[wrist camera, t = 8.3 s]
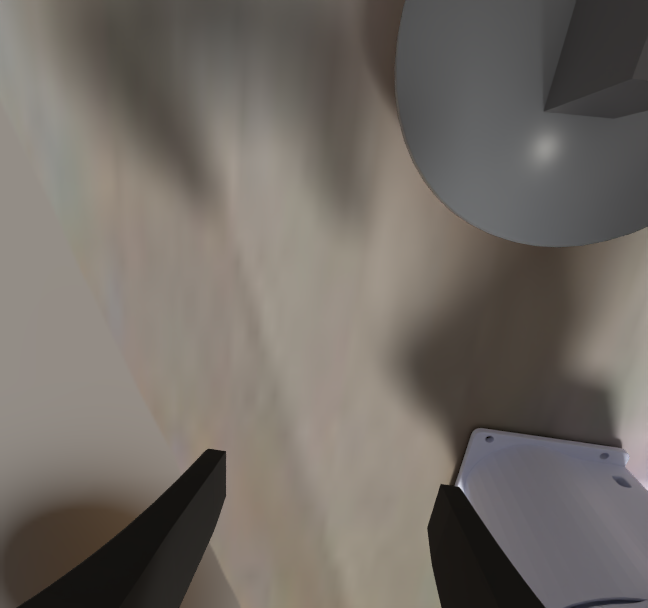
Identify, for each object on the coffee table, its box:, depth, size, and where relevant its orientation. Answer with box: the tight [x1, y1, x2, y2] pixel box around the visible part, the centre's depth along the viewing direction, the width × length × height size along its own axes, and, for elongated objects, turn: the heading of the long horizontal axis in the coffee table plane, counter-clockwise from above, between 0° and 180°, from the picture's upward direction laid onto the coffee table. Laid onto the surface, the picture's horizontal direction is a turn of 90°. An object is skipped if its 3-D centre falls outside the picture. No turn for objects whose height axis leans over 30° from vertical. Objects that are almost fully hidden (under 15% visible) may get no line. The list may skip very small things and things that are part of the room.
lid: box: [394, 0, 648, 247], centre depth 9 cm, size 13×13×5 cm
